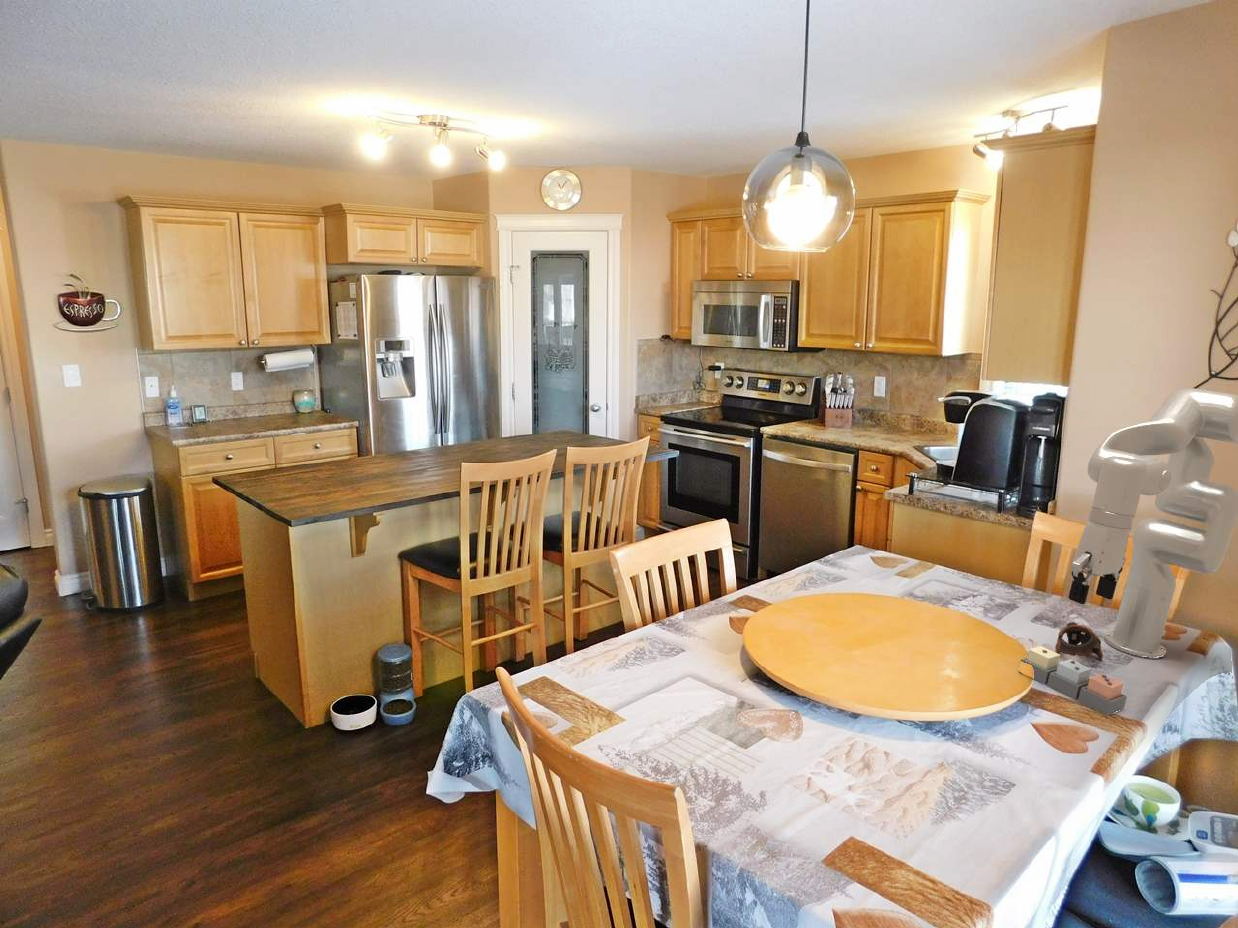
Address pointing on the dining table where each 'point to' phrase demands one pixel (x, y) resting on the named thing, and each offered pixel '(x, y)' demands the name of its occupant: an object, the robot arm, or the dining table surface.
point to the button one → (1043, 657)
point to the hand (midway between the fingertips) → (1090, 599)
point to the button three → (1105, 686)
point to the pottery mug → (1088, 641)
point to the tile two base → (1065, 686)
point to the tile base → (1101, 701)
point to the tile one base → (1040, 672)
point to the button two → (1073, 672)
